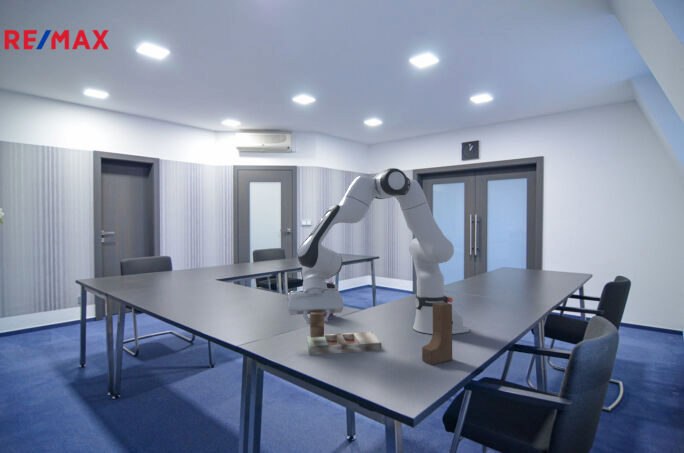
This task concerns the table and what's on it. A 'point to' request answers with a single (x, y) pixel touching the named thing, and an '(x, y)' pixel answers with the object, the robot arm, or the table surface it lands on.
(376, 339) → the track
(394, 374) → the table surface
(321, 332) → the walnut block
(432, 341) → the wooden block
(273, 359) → the table surface
